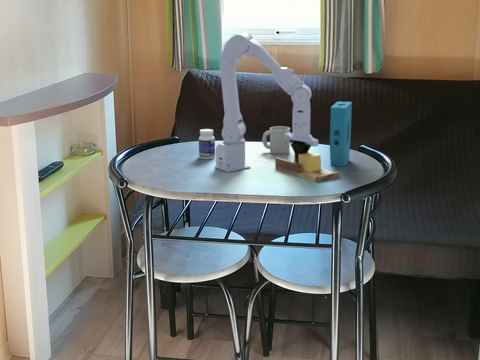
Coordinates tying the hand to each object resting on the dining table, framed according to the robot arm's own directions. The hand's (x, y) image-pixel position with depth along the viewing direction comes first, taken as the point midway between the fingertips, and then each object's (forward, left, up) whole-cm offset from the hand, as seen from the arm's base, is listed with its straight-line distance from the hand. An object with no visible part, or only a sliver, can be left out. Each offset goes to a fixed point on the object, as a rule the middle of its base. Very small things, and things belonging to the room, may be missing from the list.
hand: (300, 163), depth 221 cm
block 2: (+17, 0, -2) cm, 17 cm away
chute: (0, -2, -2) cm, 3 cm away
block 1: (0, -4, -1) cm, 4 cm away
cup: (+9, +25, -2) cm, 26 cm away
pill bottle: (-15, +34, -2) cm, 37 cm away
